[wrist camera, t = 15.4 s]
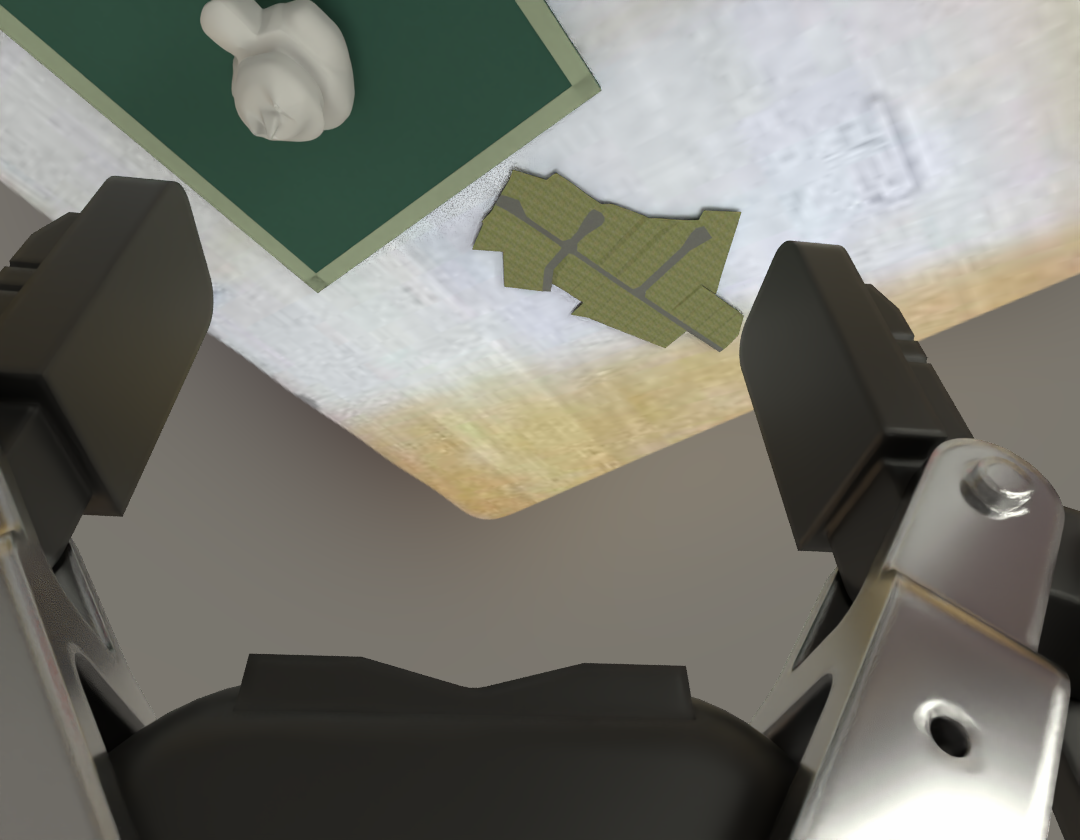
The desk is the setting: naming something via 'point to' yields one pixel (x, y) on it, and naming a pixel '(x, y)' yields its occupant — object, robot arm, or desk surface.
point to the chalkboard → (337, 154)
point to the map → (615, 260)
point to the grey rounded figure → (284, 66)
